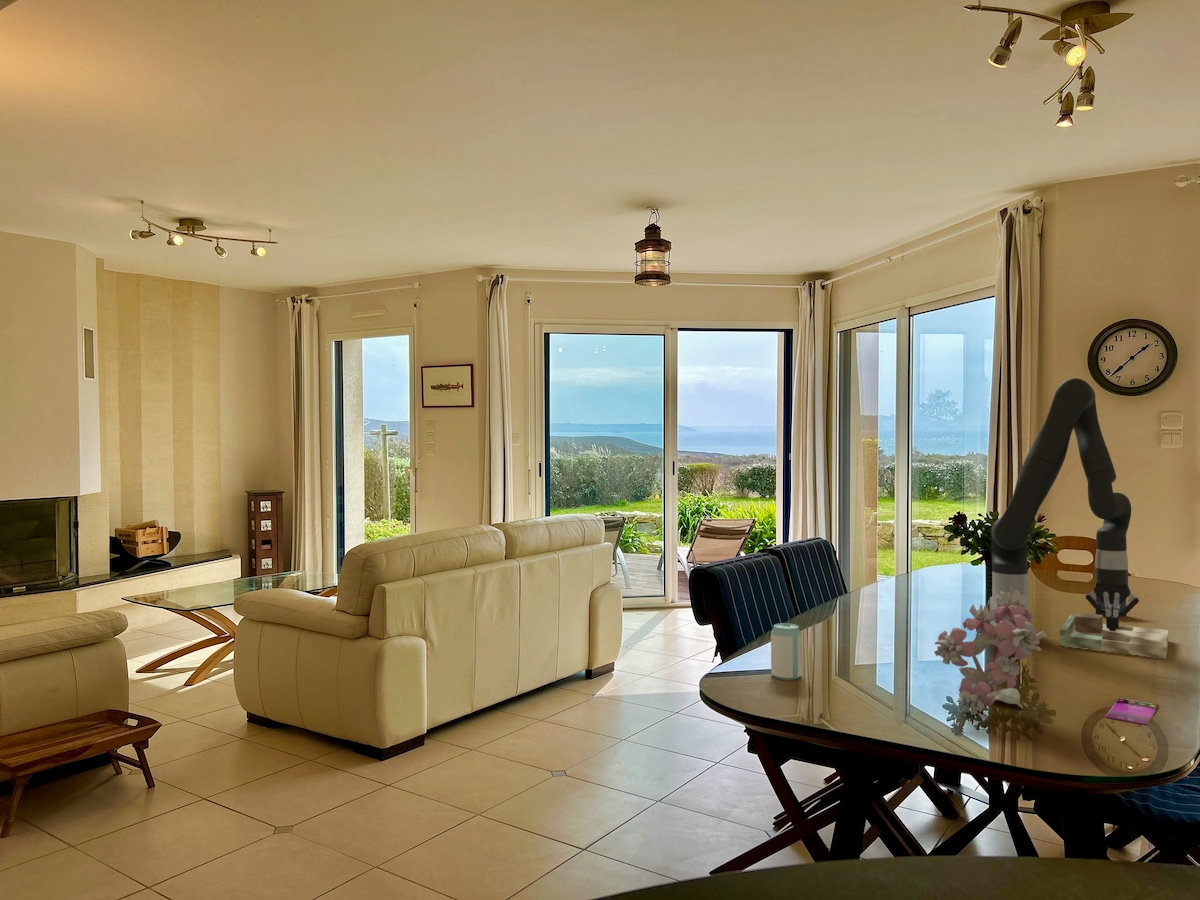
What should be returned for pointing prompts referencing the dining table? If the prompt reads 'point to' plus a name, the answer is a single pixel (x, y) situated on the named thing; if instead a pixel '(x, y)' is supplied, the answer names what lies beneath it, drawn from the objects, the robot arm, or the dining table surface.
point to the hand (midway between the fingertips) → (1112, 630)
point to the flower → (1007, 644)
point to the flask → (1111, 606)
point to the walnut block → (1089, 623)
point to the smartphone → (1132, 711)
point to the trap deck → (1117, 639)
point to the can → (786, 651)
